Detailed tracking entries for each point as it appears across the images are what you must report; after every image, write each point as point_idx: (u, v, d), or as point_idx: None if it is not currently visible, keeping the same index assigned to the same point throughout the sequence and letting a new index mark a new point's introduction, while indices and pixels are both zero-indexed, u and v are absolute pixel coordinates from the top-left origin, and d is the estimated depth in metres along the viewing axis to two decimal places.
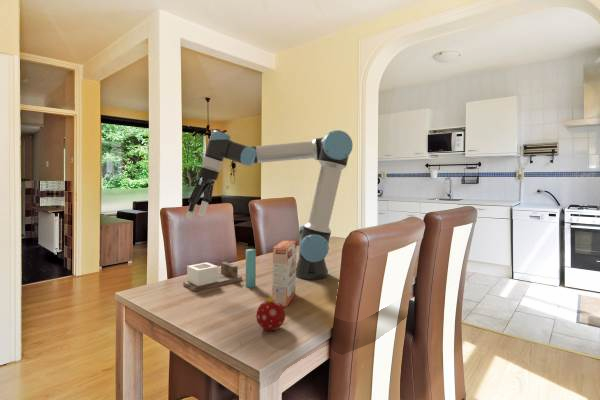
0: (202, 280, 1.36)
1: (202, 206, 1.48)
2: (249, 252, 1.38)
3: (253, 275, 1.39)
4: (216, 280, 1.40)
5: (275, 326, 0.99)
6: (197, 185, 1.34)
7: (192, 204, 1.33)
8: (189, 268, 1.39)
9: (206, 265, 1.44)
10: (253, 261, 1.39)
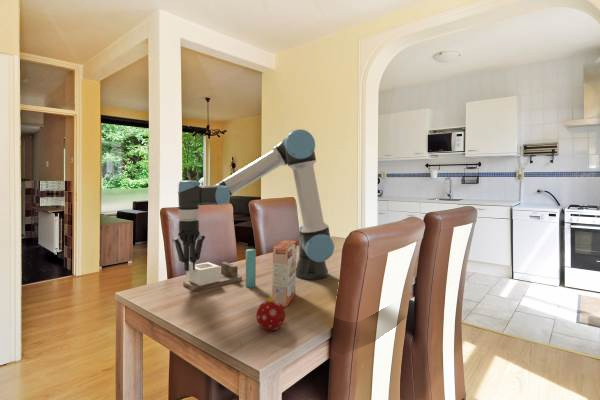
0: (204, 280, 1.36)
1: None
2: (249, 252, 1.38)
3: (253, 275, 1.39)
4: (217, 280, 1.41)
5: (275, 326, 0.99)
6: (176, 245, 1.33)
7: (185, 263, 1.35)
8: None
9: (207, 265, 1.45)
10: (253, 261, 1.39)
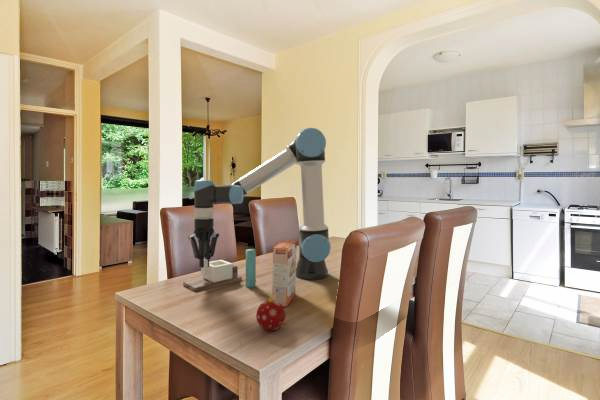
0: (218, 276, 1.41)
1: None
2: (249, 252, 1.38)
3: (253, 275, 1.39)
4: (231, 277, 1.45)
5: (275, 326, 0.99)
6: (191, 242, 1.37)
7: (200, 260, 1.39)
8: None
9: (221, 262, 1.49)
10: (253, 261, 1.39)
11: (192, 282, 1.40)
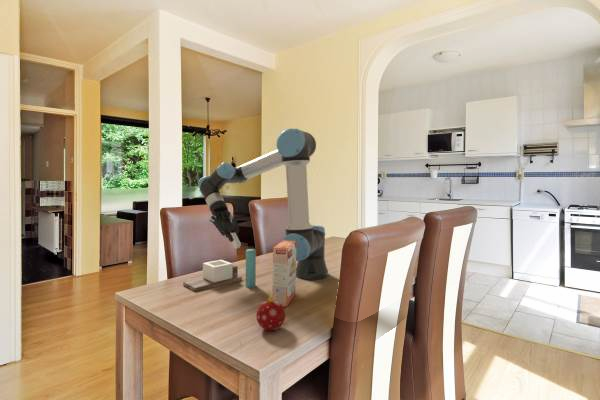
0: (218, 276, 1.41)
1: None
2: (249, 252, 1.38)
3: (253, 275, 1.39)
4: (231, 277, 1.45)
5: (275, 326, 0.99)
6: (214, 223, 1.49)
7: (228, 235, 1.47)
8: (205, 265, 1.44)
9: (221, 262, 1.49)
10: (253, 261, 1.39)
11: (192, 282, 1.40)
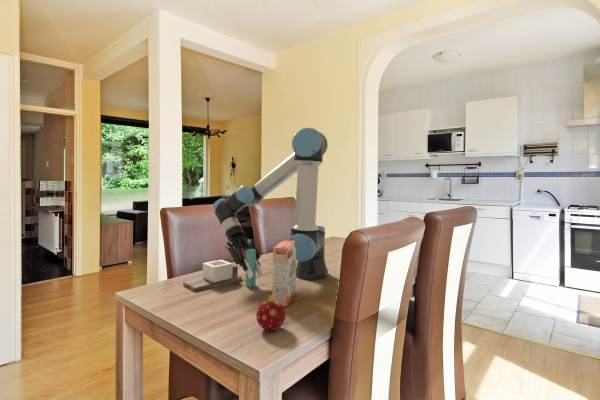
0: (218, 276, 1.41)
1: None
2: (249, 252, 1.38)
3: (253, 275, 1.39)
4: (231, 277, 1.45)
5: (275, 326, 0.99)
6: (229, 250, 1.41)
7: (242, 264, 1.38)
8: (205, 265, 1.44)
9: (221, 262, 1.49)
10: (253, 261, 1.39)
11: (192, 282, 1.40)
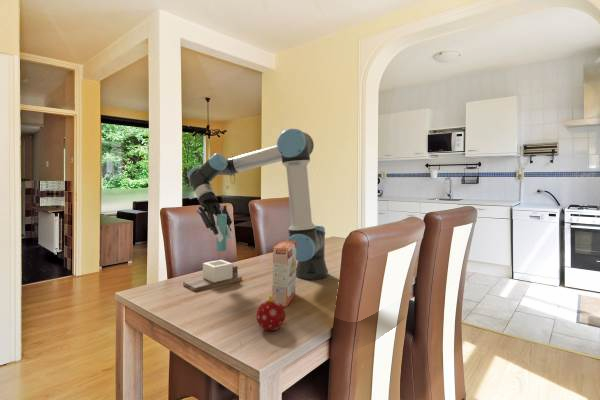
0: (218, 276, 1.41)
1: (226, 231, 1.45)
2: (220, 216, 1.41)
3: (224, 239, 1.43)
4: (231, 277, 1.45)
5: (275, 326, 0.99)
6: (201, 214, 1.44)
7: (212, 227, 1.41)
8: (205, 265, 1.44)
9: (221, 262, 1.49)
10: (224, 225, 1.42)
11: (192, 282, 1.40)
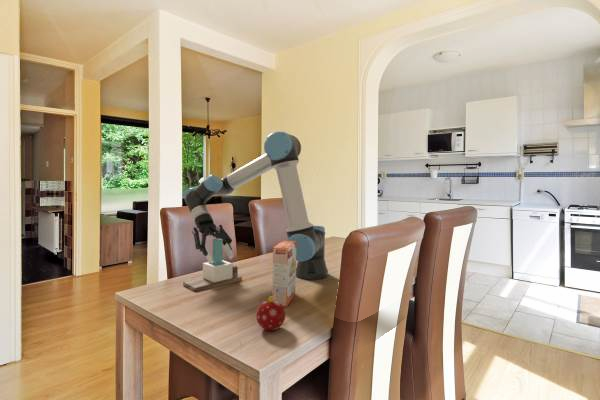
0: (218, 276, 1.41)
1: (226, 249, 1.48)
2: (215, 241, 1.43)
3: (220, 263, 1.44)
4: (231, 277, 1.45)
5: (275, 326, 0.99)
6: (194, 235, 1.45)
7: (202, 249, 1.41)
8: (205, 265, 1.44)
9: None
10: (220, 250, 1.44)
11: (192, 282, 1.40)
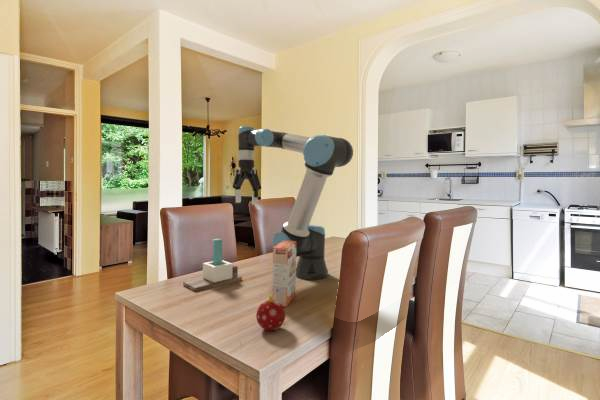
0: (218, 276, 1.41)
1: None
2: (215, 241, 1.43)
3: (220, 264, 1.44)
4: (231, 277, 1.45)
5: (275, 326, 0.99)
6: None
7: None
8: (205, 265, 1.44)
9: None
10: (219, 250, 1.44)
11: (192, 282, 1.40)
